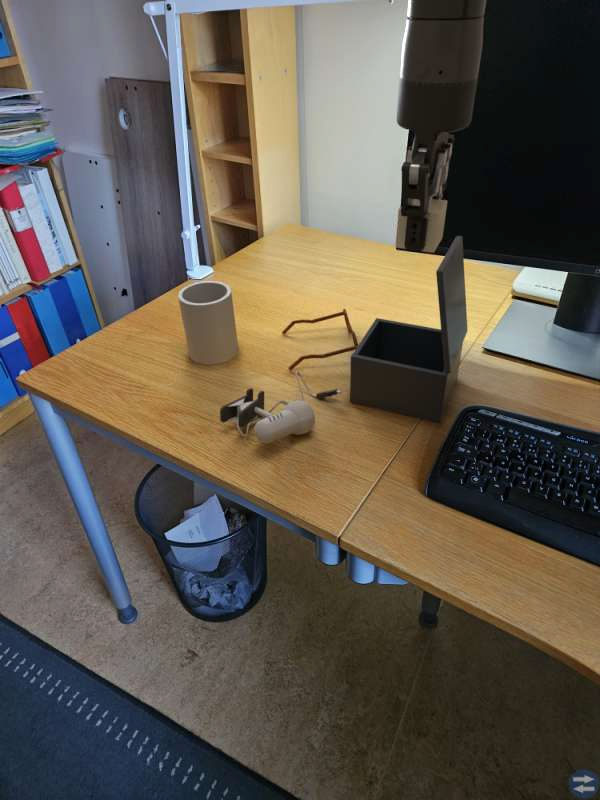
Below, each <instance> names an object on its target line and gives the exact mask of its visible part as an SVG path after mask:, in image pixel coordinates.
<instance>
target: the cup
mask: <svg viewBox="0 0 600 800" xmlns="http://www.w3.org/2000/svg"><path fill="white" fill-rule="evenodd" d="M232 293H233V292H232V288H231V286H230V285H228V284H227V283H225V282H222V281H217V280H204V281H202V280H201V281H197V282H193V283H190V284H188V285H186V286H184V287H183V288H181V289H180V290H179V292H178V293H177V299H178V304H179V308H180V315H181V321H182V325H183V330H184V336H185V341H186V347H187V351H188V356H189V359H190V360H191V361H193V362H194V363H195V364H198V365H203V366H215V365H216V366H217V365H221V364H224V363H227V362H229V361H231V360H232V359H234V358H235V357H236V356H237V355H238V353H239V343H238V334H237V325H236V317H235V308H234V302H233V294H232Z"/></svg>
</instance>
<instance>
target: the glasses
mask: <svg viewBox="0 0 600 800" xmlns="http://www.w3.org/2000/svg"><path fill="white" fill-rule="evenodd" d="M342 316H343V319H344V322H345V325H346V329H347V333H348V335H351V338H352V342H353V345H352V346H348V347H344V348H341V349H337V350H333V351H329V352H327V353H322V354H307V355H301V356H300V357H298V359H296V360H295V361H294V362H293V363H292V364H291V365H290V366H288V367H287V368H288V370H289V371H292V370H294V368H295V367H297V366H298V365H299V364H300V363H302V362H303V361H304V360H309V359H326V358H330V357H333V356H337V355H341V354H345V353H349V352H353V351H355V349H356V348H357V346H358V345H359V342H358V338H357V335H356V332H355V331H354V330H353V328H352V325H351V322H350V318H349V315H348V313H347V310H346V308H343V309H342V311H340V312H335V313H332V314H329V315H325V316H321V317H316V318H313V319H297V320H292V321H291V322H290V323H289V324H288V325H287V326H286V327H285V328H284V329H283V330H282V331H281V334H283V335H286V334H287V333H288V331H289V330H290V329H291V328H293V327H294V326H295V325H296V324H316V323H319V322H323V321H327V320H330V319H334V318H339V317H342Z"/></svg>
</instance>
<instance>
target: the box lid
mask: <svg viewBox="0 0 600 800" xmlns="http://www.w3.org/2000/svg"><path fill="white" fill-rule="evenodd" d="M464 259H465V258H464V243H463V236H462V235H457V236H455V238H454V240H453V241H452V243H451V245H450V247H449V248H448V250H447V252H446V254H445V255H444V257H443V259H442V261H441V262H440V264H439V266H438V268H437V269H436V271H435V274H436V276H435V277H436V286H437V297H438V298H437V299H438V309H439V322H440V329H441V335H442V347H443V358H444V370H445V373H451V371H452V368H453V366H454V363H455V361H456V358H457V356H458V353H459V351H460V348H461V346H462V343H463V344H464V341H465V338H466V336H467V334H468V314H467V313H468V312H467V296H466V295H467V294H466V278H465V263H464V262H465V261H464ZM462 347H463V346H462Z"/></svg>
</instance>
